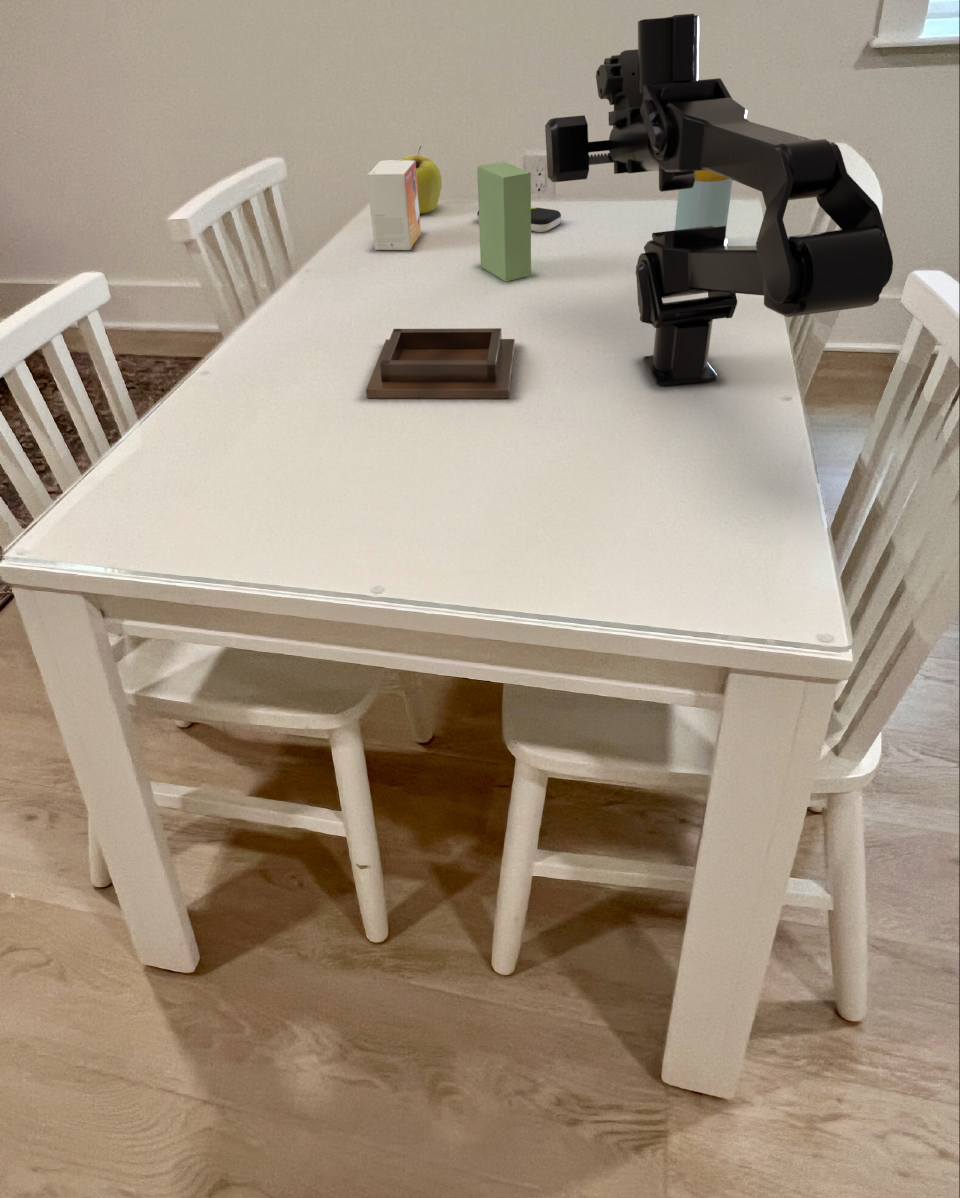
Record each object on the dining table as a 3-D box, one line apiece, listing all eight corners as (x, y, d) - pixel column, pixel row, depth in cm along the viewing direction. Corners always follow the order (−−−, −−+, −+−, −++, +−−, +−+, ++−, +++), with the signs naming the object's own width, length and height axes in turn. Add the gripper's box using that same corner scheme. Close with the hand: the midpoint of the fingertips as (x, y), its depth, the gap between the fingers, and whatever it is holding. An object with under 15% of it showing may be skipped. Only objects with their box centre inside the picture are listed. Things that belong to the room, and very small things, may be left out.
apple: (398, 196, 149) (409, 134, 142) (441, 213, 148) (454, 152, 141) (379, 210, 143) (390, 146, 136) (424, 228, 142) (437, 165, 136)
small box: (411, 251, 130) (404, 173, 123) (373, 250, 131) (365, 173, 124) (422, 234, 136) (416, 159, 129) (386, 233, 137) (379, 159, 130)
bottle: (723, 257, 123) (739, 138, 113) (672, 256, 124) (683, 137, 114) (723, 241, 128) (738, 125, 118) (673, 240, 129) (684, 125, 120)
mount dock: (515, 346, 102) (514, 321, 100) (508, 398, 92) (508, 371, 90) (386, 347, 104) (383, 322, 102) (366, 398, 94) (363, 371, 92)
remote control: (545, 234, 134) (545, 220, 132) (473, 223, 139) (473, 209, 138) (564, 222, 138) (564, 209, 136) (494, 212, 143) (493, 199, 142)
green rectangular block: (505, 261, 125) (503, 161, 117) (531, 275, 120) (531, 172, 112) (480, 267, 124) (476, 166, 115) (505, 281, 119) (503, 177, 110)
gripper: (743, 41, 89) (679, 60, 103) (565, 56, 86) (523, 74, 100) (739, 164, 94) (678, 167, 108) (570, 182, 91) (530, 182, 105)
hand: (604, 146), depth 105 cm, fingers open, 9 cm apart
